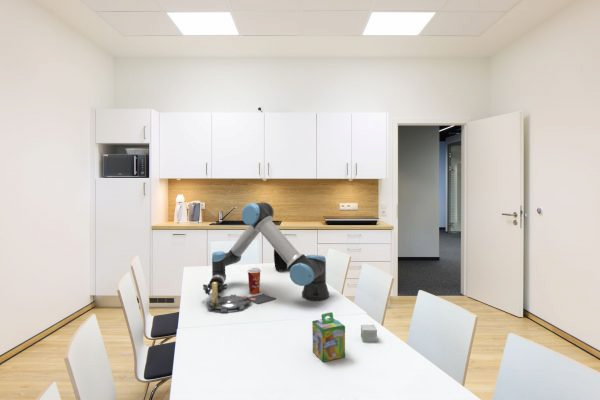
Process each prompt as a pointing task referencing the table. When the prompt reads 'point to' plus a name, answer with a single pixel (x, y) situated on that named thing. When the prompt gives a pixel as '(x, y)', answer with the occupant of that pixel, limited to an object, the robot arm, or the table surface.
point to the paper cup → (254, 280)
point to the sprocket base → (228, 310)
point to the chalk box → (328, 338)
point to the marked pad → (261, 298)
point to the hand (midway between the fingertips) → (210, 295)
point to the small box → (368, 333)
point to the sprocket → (226, 301)
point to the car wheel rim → (279, 262)
